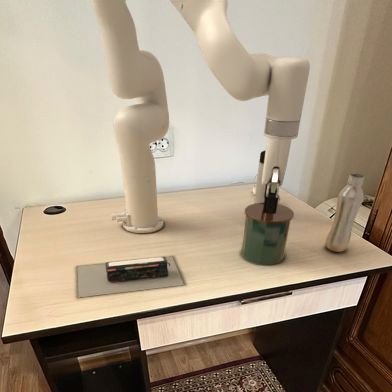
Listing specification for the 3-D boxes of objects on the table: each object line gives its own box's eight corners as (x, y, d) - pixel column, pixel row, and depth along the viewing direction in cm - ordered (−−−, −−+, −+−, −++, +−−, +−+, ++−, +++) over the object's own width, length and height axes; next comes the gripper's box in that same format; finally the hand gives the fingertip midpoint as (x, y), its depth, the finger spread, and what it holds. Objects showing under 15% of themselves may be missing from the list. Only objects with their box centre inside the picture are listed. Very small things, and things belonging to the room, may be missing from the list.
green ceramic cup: (249, 267, 96) (255, 224, 88) (236, 247, 104) (240, 207, 97) (290, 262, 98) (299, 221, 90) (273, 243, 106) (280, 204, 99)
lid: (254, 228, 88) (257, 204, 84) (237, 208, 97) (239, 186, 94) (301, 224, 91) (306, 200, 87) (281, 205, 100) (285, 183, 96)
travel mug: (273, 220, 119) (284, 152, 106) (253, 219, 119) (261, 152, 106) (270, 212, 124) (281, 147, 111) (251, 212, 124) (259, 146, 111)
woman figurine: (260, 196, 122) (240, 183, 136) (259, 210, 125) (240, 196, 139) (291, 194, 125) (269, 181, 138) (289, 207, 128) (267, 193, 141)
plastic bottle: (347, 246, 106) (370, 173, 93) (346, 256, 101) (370, 181, 88) (324, 242, 108) (344, 170, 94) (322, 252, 103) (343, 177, 90)
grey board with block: (183, 284, 89) (183, 269, 86) (78, 297, 84) (74, 281, 81) (172, 257, 99) (171, 242, 96) (77, 266, 94) (74, 251, 91)
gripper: (265, 119, 88) (256, 193, 99) (263, 135, 75) (252, 217, 86) (297, 121, 87) (284, 195, 98) (300, 138, 74) (284, 220, 85)
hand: (269, 205), depth 92 cm, fingers open, 9 cm apart
